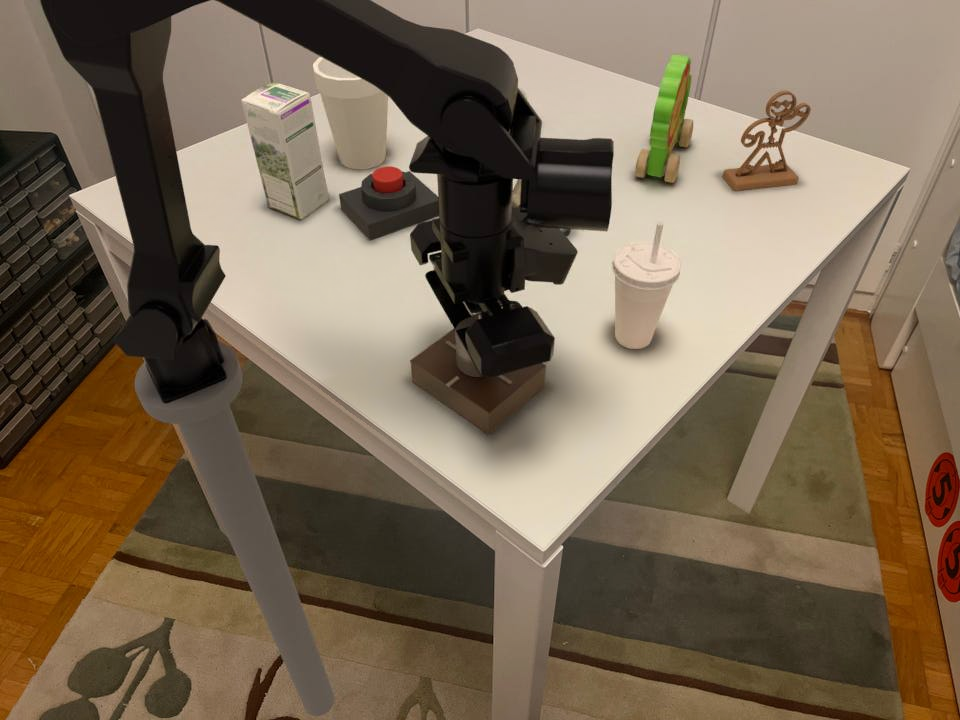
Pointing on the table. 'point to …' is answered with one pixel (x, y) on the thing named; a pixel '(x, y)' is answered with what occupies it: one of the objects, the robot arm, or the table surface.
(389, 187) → the button
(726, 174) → the brown wooden figure
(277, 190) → the syrup box
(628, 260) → the smoothie
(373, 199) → the block
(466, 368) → the heat knob
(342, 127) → the foam cup
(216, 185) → the table surface
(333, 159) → the table surface
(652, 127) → the toy lion
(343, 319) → the table surface
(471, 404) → the panel
